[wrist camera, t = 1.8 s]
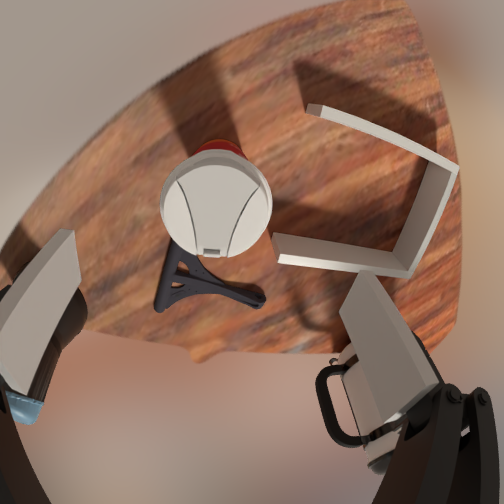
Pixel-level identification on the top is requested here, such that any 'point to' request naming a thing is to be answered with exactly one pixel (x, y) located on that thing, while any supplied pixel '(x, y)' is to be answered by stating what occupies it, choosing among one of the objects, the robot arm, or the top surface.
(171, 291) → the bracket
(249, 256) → the top surface
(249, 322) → the top surface
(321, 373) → the coffee press
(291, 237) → the box
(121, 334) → the top surface
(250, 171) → the paper cup
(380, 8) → the top surface
